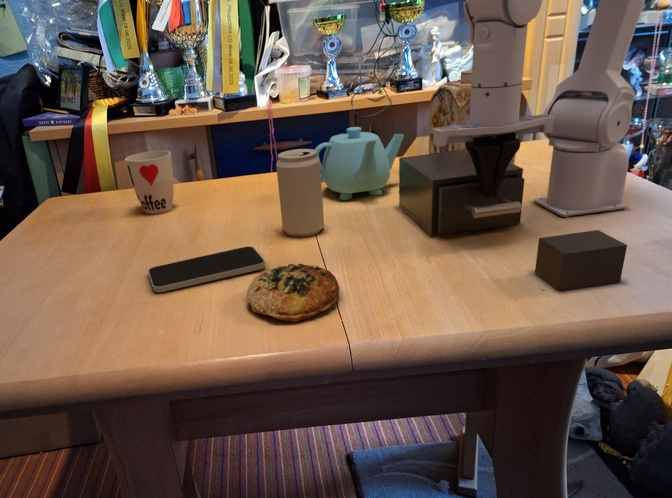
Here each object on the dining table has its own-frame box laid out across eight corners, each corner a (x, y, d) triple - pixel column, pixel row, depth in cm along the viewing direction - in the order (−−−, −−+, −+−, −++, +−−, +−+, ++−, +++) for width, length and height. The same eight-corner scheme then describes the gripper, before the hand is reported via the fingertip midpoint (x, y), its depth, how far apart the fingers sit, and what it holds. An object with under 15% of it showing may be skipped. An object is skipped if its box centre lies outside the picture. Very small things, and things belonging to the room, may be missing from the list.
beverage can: (321, 238, 83) (316, 156, 77) (279, 239, 84) (271, 159, 79) (326, 223, 88) (322, 146, 83) (286, 224, 90) (279, 148, 84)
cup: (128, 215, 103) (115, 161, 98) (152, 202, 109) (141, 150, 105) (165, 217, 100) (154, 161, 95) (188, 203, 106) (178, 150, 102)
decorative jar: (455, 183, 100) (460, 76, 92) (426, 169, 110) (428, 71, 102) (516, 174, 101) (526, 67, 93) (482, 161, 112) (489, 63, 104)
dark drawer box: (538, 234, 73) (544, 187, 70) (453, 246, 73) (455, 199, 70) (477, 196, 89) (480, 157, 87) (408, 206, 89) (408, 166, 86)
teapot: (412, 184, 102) (413, 120, 97) (375, 206, 93) (374, 137, 88) (341, 178, 111) (338, 119, 106) (301, 197, 102) (296, 134, 97)
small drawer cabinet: (517, 225, 79) (523, 168, 76) (431, 237, 79) (432, 180, 75) (473, 197, 92) (476, 147, 89) (399, 207, 92) (399, 157, 88)
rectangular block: (592, 264, 66) (598, 229, 64) (620, 282, 61) (627, 244, 59) (534, 273, 65) (538, 237, 63) (558, 291, 61) (564, 253, 59)
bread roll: (352, 282, 67) (347, 245, 65) (323, 339, 59) (316, 300, 57) (270, 277, 72) (262, 243, 70) (232, 329, 64) (221, 293, 61)
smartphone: (147, 268, 77) (251, 244, 80) (148, 274, 77) (252, 250, 80) (153, 288, 70) (266, 262, 74) (154, 295, 71) (267, 268, 74)
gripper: (536, 75, 71) (525, 180, 77) (425, 88, 70) (423, 193, 76) (569, 79, 65) (554, 193, 71) (447, 94, 64) (442, 208, 70)
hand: (488, 194), depth 73 cm, fingers closed
